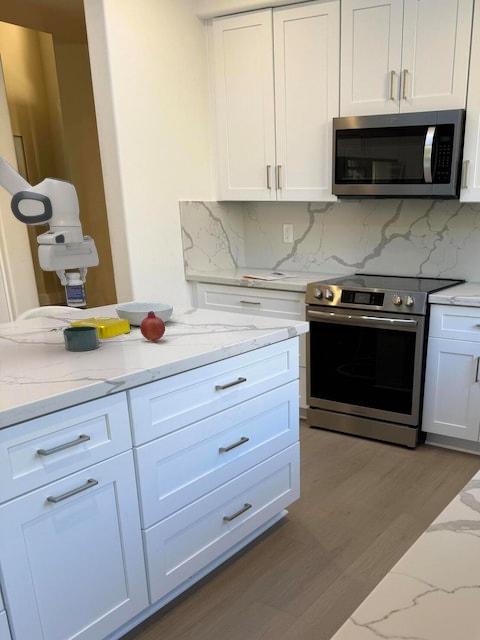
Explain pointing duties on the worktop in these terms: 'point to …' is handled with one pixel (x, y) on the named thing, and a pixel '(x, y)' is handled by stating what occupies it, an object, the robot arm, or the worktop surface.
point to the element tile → (105, 326)
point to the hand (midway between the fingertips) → (73, 283)
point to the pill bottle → (75, 290)
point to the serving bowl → (143, 311)
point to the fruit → (152, 327)
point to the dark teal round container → (81, 338)
